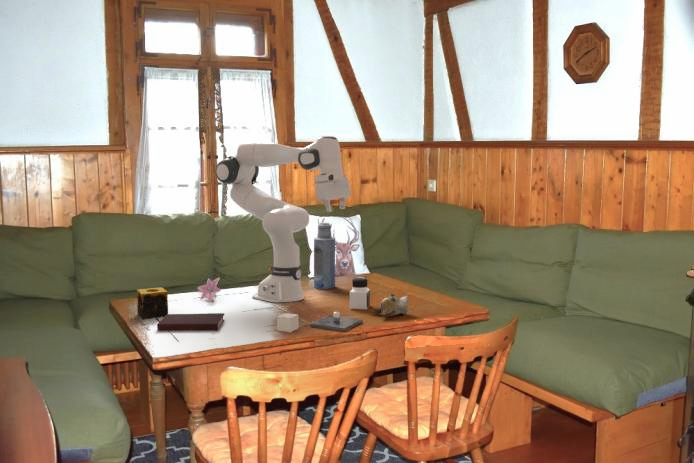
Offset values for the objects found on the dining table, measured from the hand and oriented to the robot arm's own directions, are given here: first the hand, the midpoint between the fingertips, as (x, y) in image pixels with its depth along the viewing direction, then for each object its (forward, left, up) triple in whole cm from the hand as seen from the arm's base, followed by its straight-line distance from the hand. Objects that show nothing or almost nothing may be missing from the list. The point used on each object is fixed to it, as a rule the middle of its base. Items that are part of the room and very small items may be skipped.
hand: (336, 210), depth 280 cm
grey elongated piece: (-23, +29, -39) cm, 54 cm away
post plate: (+15, -27, -39) cm, 50 cm away
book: (-31, -53, -40) cm, 73 cm away
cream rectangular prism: (+3, -41, -39) cm, 57 cm away
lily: (-54, -15, -39) cm, 68 cm away
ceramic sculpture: (+27, -5, -39) cm, 48 cm away
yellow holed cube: (-55, -48, -39) cm, 83 cm away
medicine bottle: (+10, +1, -39) cm, 41 cm away
